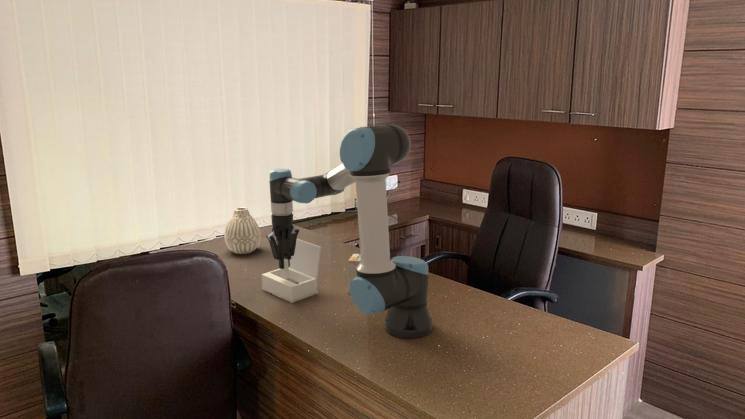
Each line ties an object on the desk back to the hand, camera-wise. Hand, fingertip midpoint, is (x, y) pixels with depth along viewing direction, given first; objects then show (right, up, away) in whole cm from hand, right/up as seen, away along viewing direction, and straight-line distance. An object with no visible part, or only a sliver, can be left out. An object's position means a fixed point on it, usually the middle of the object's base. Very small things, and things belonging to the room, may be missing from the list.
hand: (284, 276), depth 202 cm
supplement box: (+26, -6, +7) cm, 27 cm away
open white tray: (+1, -6, +6) cm, 9 cm away
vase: (-27, +5, +51) cm, 57 cm away
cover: (+5, +6, +7) cm, 11 cm away
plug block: (0, -4, +2) cm, 5 cm away
